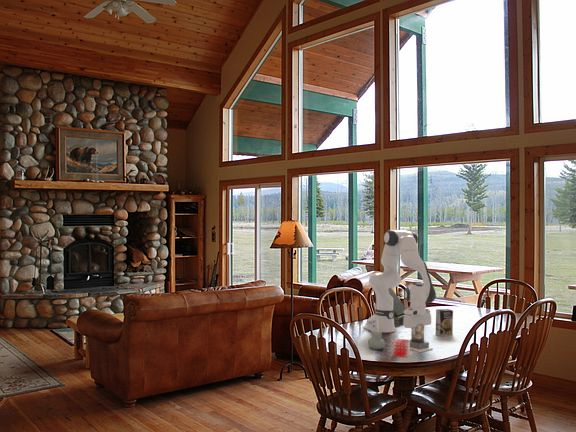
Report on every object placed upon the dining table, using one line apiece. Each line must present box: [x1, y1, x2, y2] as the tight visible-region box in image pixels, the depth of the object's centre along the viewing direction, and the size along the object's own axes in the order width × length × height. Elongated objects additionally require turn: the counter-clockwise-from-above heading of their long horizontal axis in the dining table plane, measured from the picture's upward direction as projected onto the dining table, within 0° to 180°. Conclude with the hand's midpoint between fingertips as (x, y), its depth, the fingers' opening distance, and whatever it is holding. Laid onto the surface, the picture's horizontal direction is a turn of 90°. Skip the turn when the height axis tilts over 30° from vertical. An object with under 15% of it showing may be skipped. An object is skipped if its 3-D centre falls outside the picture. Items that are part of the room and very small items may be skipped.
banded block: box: [410, 324, 425, 342], centre depth 317 cm, size 4×6×10 cm, turn 35°
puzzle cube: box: [392, 338, 411, 358], centre depth 302 cm, size 8×8×8 cm
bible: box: [372, 288, 407, 327], centre depth 392 cm, size 23×20×25 cm
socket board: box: [409, 339, 434, 353], centre depth 317 cm, size 14×11×4 cm
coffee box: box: [435, 308, 454, 337], centre depth 353 cm, size 9×6×16 cm
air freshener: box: [367, 330, 386, 351], centre depth 315 cm, size 11×8×10 cm
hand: (417, 333), depth 317 cm, fingers closed on banded block, 4 cm apart
